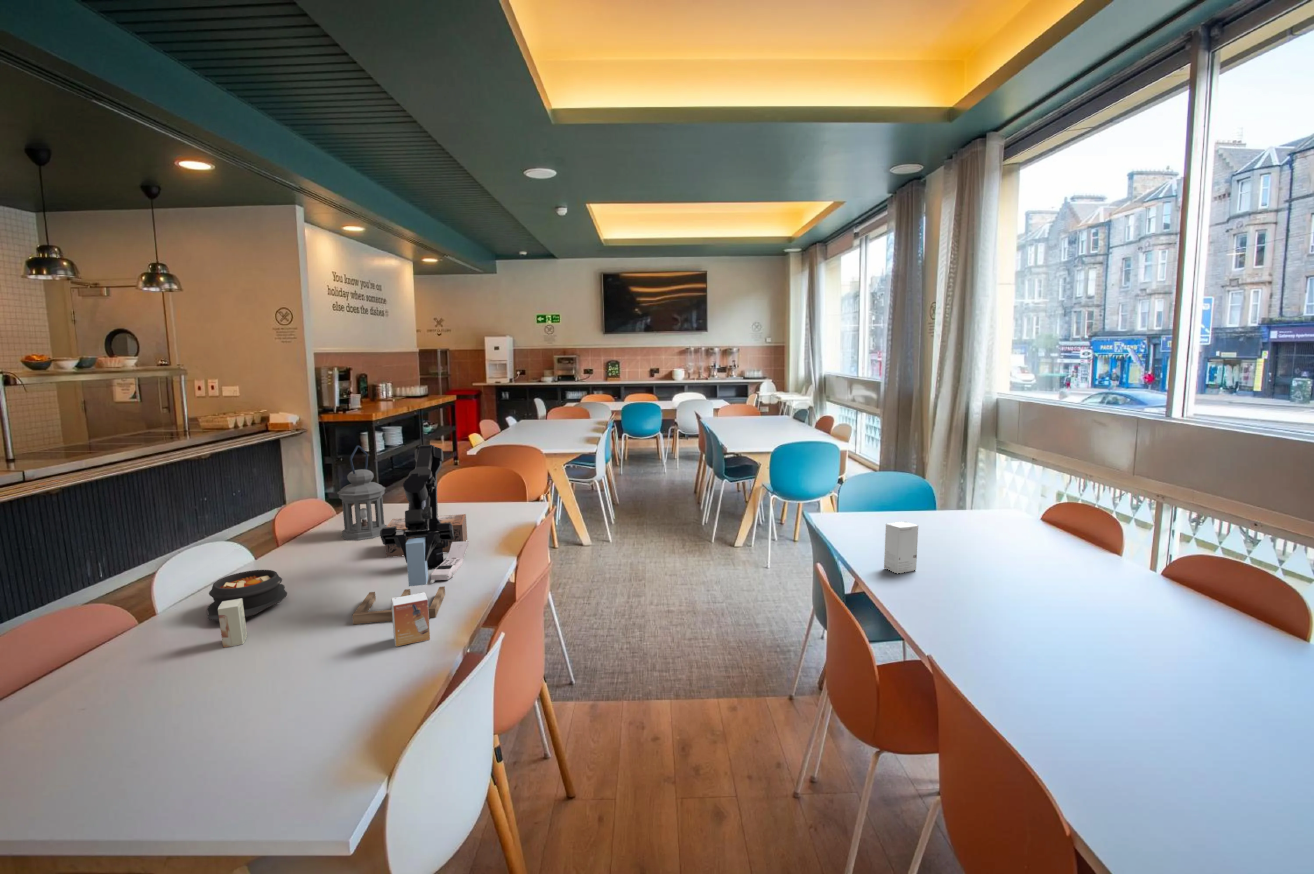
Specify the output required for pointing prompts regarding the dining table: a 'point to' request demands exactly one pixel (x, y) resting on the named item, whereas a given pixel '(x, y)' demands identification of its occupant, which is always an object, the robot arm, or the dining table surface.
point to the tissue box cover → (455, 520)
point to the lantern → (362, 493)
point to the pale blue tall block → (416, 561)
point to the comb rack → (386, 615)
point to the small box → (410, 619)
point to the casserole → (247, 591)
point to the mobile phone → (450, 562)
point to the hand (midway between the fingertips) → (416, 561)
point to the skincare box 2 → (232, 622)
